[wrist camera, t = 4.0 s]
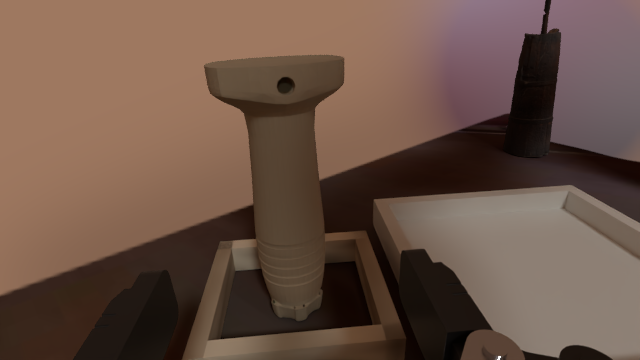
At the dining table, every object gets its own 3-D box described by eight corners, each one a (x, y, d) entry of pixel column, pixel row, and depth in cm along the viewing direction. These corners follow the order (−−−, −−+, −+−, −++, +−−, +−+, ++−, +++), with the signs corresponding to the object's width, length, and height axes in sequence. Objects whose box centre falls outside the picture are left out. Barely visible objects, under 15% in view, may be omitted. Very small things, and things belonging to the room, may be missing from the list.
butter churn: (526, 135, 52) (574, -92, 41) (587, 155, 44) (670, -124, 32) (475, 143, 50) (511, -96, 38) (529, 166, 42) (597, -131, 30)
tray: (564, 209, 32) (571, 185, 31) (855, 402, 15) (890, 364, 14) (372, 224, 31) (373, 199, 30) (467, 447, 14) (476, 409, 13)
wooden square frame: (365, 252, 27) (365, 230, 26) (403, 365, 18) (406, 338, 17) (224, 263, 26) (220, 241, 26) (189, 387, 17) (182, 359, 17)
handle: (243, 290, 24) (205, 60, 17) (333, 271, 25) (326, 53, 19) (249, 347, 19) (201, 71, 13) (356, 321, 21) (358, 60, 15)
